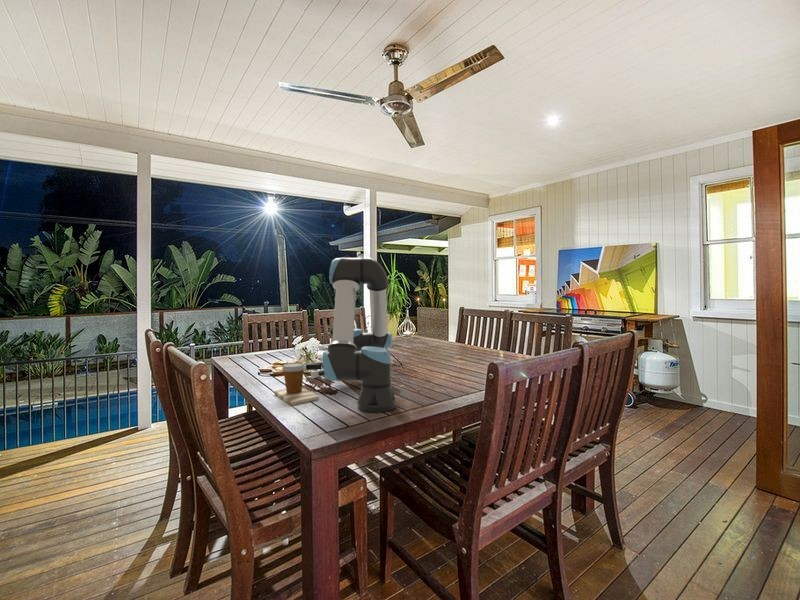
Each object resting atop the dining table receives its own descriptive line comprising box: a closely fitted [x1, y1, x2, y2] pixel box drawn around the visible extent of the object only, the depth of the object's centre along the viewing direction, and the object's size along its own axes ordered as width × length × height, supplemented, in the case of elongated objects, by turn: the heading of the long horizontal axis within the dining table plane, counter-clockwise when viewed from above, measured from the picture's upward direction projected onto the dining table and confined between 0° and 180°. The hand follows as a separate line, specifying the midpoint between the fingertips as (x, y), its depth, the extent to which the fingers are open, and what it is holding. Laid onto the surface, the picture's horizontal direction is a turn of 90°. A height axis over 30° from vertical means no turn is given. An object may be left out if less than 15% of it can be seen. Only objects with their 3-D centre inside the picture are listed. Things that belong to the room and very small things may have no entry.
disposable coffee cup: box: [282, 362, 305, 394], centre depth 166 cm, size 10×10×12 cm
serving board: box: [274, 386, 320, 406], centre depth 164 cm, size 19×12×2 cm, turn 38°
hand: (302, 372), depth 166 cm, fingers open, 13 cm apart
